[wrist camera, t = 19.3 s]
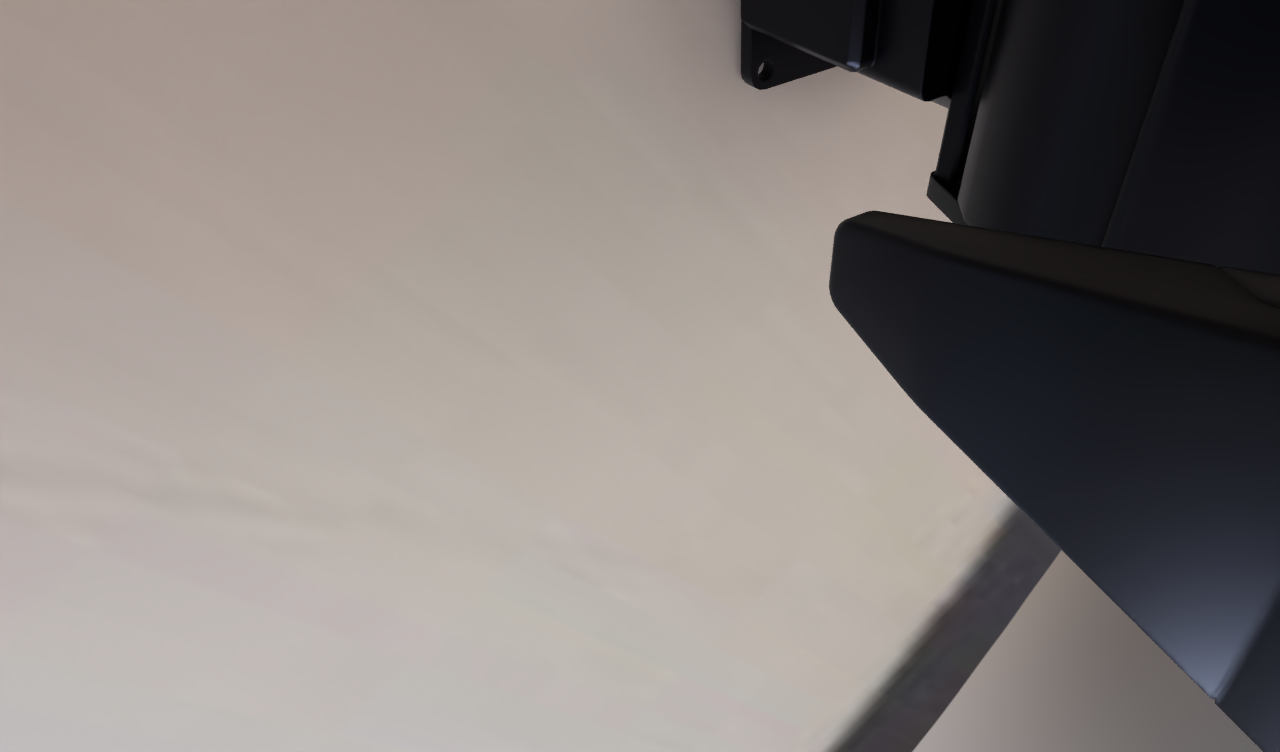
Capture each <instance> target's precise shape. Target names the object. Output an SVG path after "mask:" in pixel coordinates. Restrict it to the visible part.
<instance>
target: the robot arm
mask: <svg viewBox="0 0 1280 752" xmlns="http://www.w3.org/2000/svg"><path fill="white" fill-rule="evenodd" d="M741 19H742V22H741V75H742V78H743V80H744V81H745V83H747V84H749V85H751V86H753V87H755V88H757V89H759V90H761V89H767V88H771V87H774V86H777V85H780V84H783V83H786V82H789V81H792V80H796V79H799V78H802V77H805V76H808V75H811V74H814V73H817V72H821V71H824V70H827V69H830V68H833V67H836V66H838V67H841V68H843V69H845V70H848V71H850V72H858V73H860V74H862V75H865V76H867V77H869V78H872V79H874V80H876V81H879V82H881V83H883V84H886V85H888V86H890V87H893V88H895V89H897V90H899V91H902V92H904V93H906V94H909V95H911V96H913V97H916V98H918V99H920V100H923V101H932V102H934V103H937V104H939V105H941V106H944V107H946V108H948V109H949V110H948V115H947V120H946V124H945V129H944V134H943V139H942V143H941V148H940V153H939V158H938V162H937V167H936V171H933V172H932V173H931V176H930V180H929V185H928V190H927V197H928V198H929V199H930V200H931V201H932V202H933V203H934V204H935V205H936V206H937V207H938V208H939V209H940V210H941V211H942V212H943V213H944V214H945V215H946V216H947V217H948V218H949V219H950V220H951V221H952V222H953V223H949V222H943V221H937V220H930V219H924V218H918V217H912V216H905V215H899V214H893V213H887V212H880V211H869V212H865V213H862V214H860V215H857V216H854V217H852V218H849V219H846V220H844V221H843V222H842V223H840V224H839V226H838V228H837V230H836V231H835V236H834V244H833V253H832V263H831V272H830V281H829V290H830V295H831V298H832V301H833V303H834V305H835V307H836V308H837V310H838V311H839V312H840V313H841V314H842V316H843V317H844V318H845V319H846V321H847V322H848V323H849V324H850V325H851V327H852V328H853V329H854V330H855V332H856V333H857V334H858V335H859V336H860V338H861V339H862V340H863V341H864V343H865V344H866V345H867V346H868V347H869V349H870V350H871V351H872V352H873V354H874V355H875V356H876V357H877V358H878V360H879V361H880V362H881V363H882V365H883V366H884V367H885V368H886V369H887V371H888V372H889V373H890V374H891V375H892V377H893V378H894V379H895V380H896V382H897V383H898V384H899V385H900V386H901V388H902V389H903V390H904V391H905V392H906V393H907V395H908V396H909V397H910V398H911V399H912V400H913V402H914V403H915V404H916V405H917V406H918V407H919V408H920V409H921V410H922V411H923V412H924V413H925V414H926V415H927V416H928V417H929V418H930V419H931V420H932V421H933V422H934V423H935V424H936V425H937V426H938V427H939V428H940V429H941V430H942V431H943V432H944V433H945V434H946V435H947V436H948V437H949V438H950V439H951V440H952V441H953V442H954V443H955V444H956V445H957V446H958V447H959V448H960V449H961V450H962V451H963V452H964V453H965V454H966V455H967V456H968V457H969V458H970V459H971V460H972V461H973V462H974V463H975V464H976V465H977V466H978V467H979V468H980V469H981V470H982V471H983V472H984V473H985V474H986V475H987V476H988V477H989V478H990V479H991V480H992V481H993V482H994V483H995V484H996V485H997V486H998V487H999V488H1000V489H1001V490H1002V491H1003V492H1004V493H1005V494H1006V495H1007V496H1008V497H1009V498H1010V499H1011V500H1012V501H1013V502H1014V503H1015V504H1016V505H1017V506H1018V507H1019V508H1020V509H1021V510H1022V511H1023V512H1024V513H1025V514H1026V515H1027V516H1028V517H1029V518H1030V519H1031V520H1032V521H1033V522H1034V523H1035V524H1036V525H1037V526H1038V527H1039V528H1040V529H1041V530H1042V531H1043V532H1044V533H1045V534H1046V535H1047V536H1048V537H1049V538H1050V539H1051V540H1052V541H1053V542H1054V543H1055V544H1056V545H1057V546H1058V547H1059V548H1060V549H1061V550H1062V551H1063V552H1064V553H1065V554H1066V555H1067V556H1068V557H1069V558H1070V559H1071V560H1072V561H1073V562H1074V563H1076V565H1077V566H1078V567H1079V568H1080V569H1081V570H1082V571H1083V572H1084V573H1085V574H1087V576H1088V577H1089V578H1090V579H1091V580H1092V581H1093V582H1094V583H1095V584H1096V585H1097V586H1098V587H1099V588H1101V590H1102V591H1104V593H1106V595H1107V596H1109V598H1110V599H1112V601H1113V602H1114V603H1116V605H1117V606H1119V607H1120V608H1121V609H1122V610H1123V611H1124V612H1125V613H1126V614H1127V615H1128V616H1129V617H1130V618H1131V619H1132V620H1133V621H1134V622H1135V623H1136V624H1137V625H1138V626H1139V627H1140V628H1141V629H1142V630H1143V631H1144V632H1145V633H1146V634H1147V635H1148V636H1149V637H1150V638H1151V639H1152V640H1153V641H1154V642H1155V643H1156V644H1157V645H1158V646H1159V647H1160V648H1161V649H1162V650H1163V651H1164V652H1165V653H1166V654H1167V655H1168V656H1169V657H1170V658H1171V659H1172V660H1173V661H1174V662H1175V663H1176V664H1177V665H1178V666H1179V667H1180V668H1181V669H1182V670H1183V671H1184V672H1185V673H1186V674H1187V675H1188V676H1189V677H1190V678H1191V679H1192V680H1193V681H1194V682H1195V683H1196V684H1197V685H1198V686H1199V687H1200V688H1201V689H1202V690H1203V691H1204V692H1205V693H1206V694H1207V695H1208V696H1209V697H1210V698H1212V699H1215V704H1216V705H1217V706H1218V707H1219V708H1220V709H1221V710H1222V711H1223V712H1224V713H1225V714H1226V715H1227V716H1228V717H1229V718H1230V719H1231V720H1232V721H1233V722H1234V723H1235V724H1236V725H1237V726H1238V727H1239V728H1240V729H1241V730H1242V731H1243V732H1244V733H1245V734H1246V735H1247V736H1248V737H1249V738H1250V739H1251V740H1252V741H1253V742H1254V743H1255V744H1256V745H1257V746H1258V747H1259V748H1260V749H1261V750H1262V751H1263V752H1280V0H741ZM763 62H764V67H763V70H762V71H761V73H760V74H758V70H759V67H760V65H761V64H762V63H763Z"/></svg>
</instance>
